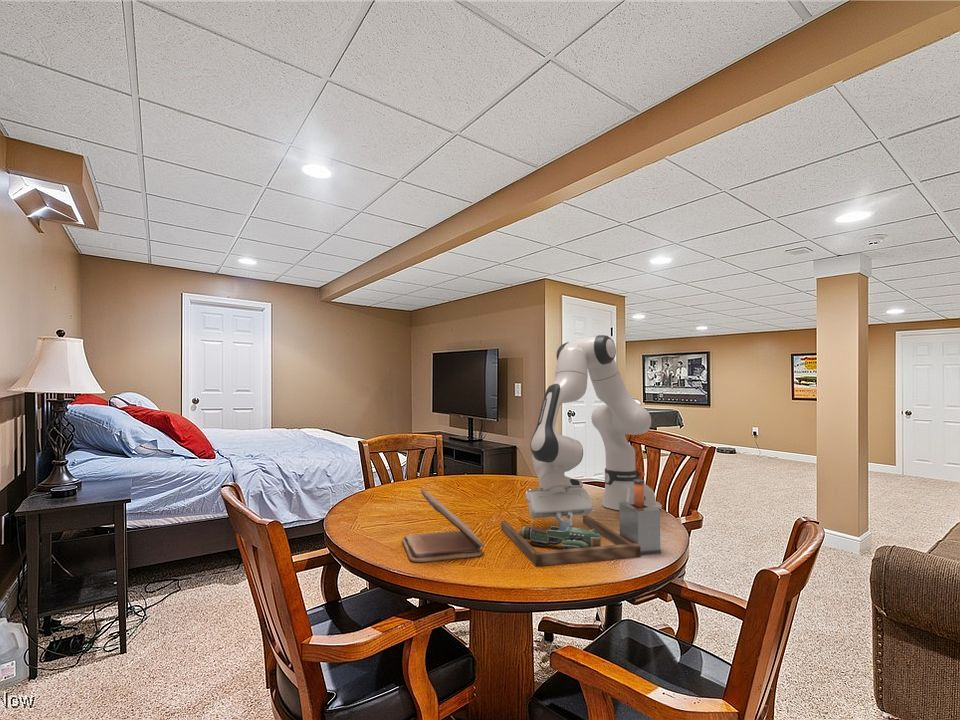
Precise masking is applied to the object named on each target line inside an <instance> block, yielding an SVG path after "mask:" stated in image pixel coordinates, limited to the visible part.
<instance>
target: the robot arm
mask: <svg viewBox="0 0 960 720" xmlns="http://www.w3.org/2000/svg"><path fill="white" fill-rule="evenodd" d="M616 353H617V348H616V344H615V342H614V340H613V339H612V338H611V337H610V336H608V335H606V334H605V335H604V334H603V335H602V334H601V335H600V334H599V335H596V336H588V337H582V338H579V339H575V340H573V341H570V342H569V341H568V342H567V341H566V342H565V343H563V344H561V345H560V346H559V347H558V348H557V351H556V365H555V366H556V367H555V371H554V372H555V373H554V379H553V382H552V384H551V385H549V386H548V387H547V389H546V391H545V392H544V396H543V399H542V403H541V407H540V412H539V415H538V419H537V423H536V426H535V430H534V433H533V435H532V437H531V440H530V445H529V447H530V452H531V459H532V465H533V469H534V472H535V474H536V475H537V478H538V484H539V488H529V489H528V490H527V491H525V494H524V496H525V499H526V501H527V503H528V505H527V506H528V512H529V515H530V517H531V518H532V519H542V518H554V519H555V521H556V522H557V523H559V525H561V523H562V521H564V522H566V523H568V525H569V526H570V527H574V526H573V521H572V519H573V516H584V515H590V514H591V512H592V511H593V509H594V504H593V501H592V499H591V496H590V495H589V493H588V491H587V490H586V489H585V488H584V487H583V486H584V482H583V480H580V479H575V478H571V477H569V476H567V475H565V473H567V472H569V471H571V470H573V469H574V468H576V467H577V466H578V465H580V463H581V462H582V461H583V457H584V449H583V448H584V447H583V445H582V444H581V442H580V441H579V440H577V439H575V438H571V437H570V436H566V435H563V434H560V433H558V432H557V431H556V423H557V418H558V414H559V410H560V407H561V406H562V404H568V403H572V402H577V401H579V400H580V399H582V398H583V396H585V394H586V391H587V388H588V376H589V378H590V381H591V384H592V387H593V390H594V392H595V395H596V397H597V398H598V400H600V401H601V402H603V403H604V404H602V405H598V406H596V407H595V408H594V409H593V410H592V413H591V417H590V418H591V423H592V425H593V426H594V428H595V429H596V430H597V431H598V433H599V434H600V437H601V439H602V441H603V446H604V450H605V451H604V452H605V468H604V483H605V485H604V494H603V498H602V502H601V506H602V507H604V508H607V509H611V510H616V511H619V502H634V482H633V480H634V479H640V477H641V478H644V477H645V476H646V473H645V472H644V471H642V470H637V469H636V449H635V447H633V446H632V444H630V442H628V440H627V438H626V435H629V436H637V435H643V434H647V432H648V431H649V430H650V428H651V427H652V415H651V414H650V412H649V411H648V410H647V409H646V408H644V407H642V406H641V405H640V404H639V403H638V402H637V401H636V400H635V399H634V398H633V396H632V395H631V394H630V392H629V391H628V390H627V388H626V386H625V384H624V381H623V377H622V375H621V372H620V370H619V367H618V364H617V361H616V359H615V358H616ZM656 499H657V498H656V494H655V492H654V489H652V488H651V487H650V486H648V485H647V484H646V482H645V483H644V503H646V504H648V505H650V506H652V507H655V508H657V509H659V510H661V509H662V508H663V505H662V503H660V502H658V501H656ZM562 517H565V518H566V519H567V520H564V519H563V518H562Z"/></svg>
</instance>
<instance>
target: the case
mask: <svg viewBox="0 0 960 720" xmlns="http://www.w3.org/2000/svg"><path fill="white" fill-rule="evenodd" d="M420 492H421V494H422V496H423V497H424V499H425V500H426V501H427V502H428V505H429V506H432V508H433V510H434V511H436V512H437V513H439V514H441V516H443V518H445V519H446V521H448V522H450V524H451V525H453V526H454V527H456V528H457V531H446V532H445V531H444V532H442V531H441V532H431V533H429V532H428V533H418V534H417V533H414V534H407V535H405V536H404V537H402V540H401V542H402V545H403V546H404V548H405V552H406V553H407V557H408V559H409V560H410V561H411V562H413V563H426V562H436V561H437V562H439V561H440V562H441V561H445V560H446V561H447V560H459V559H467V558H476V557H480V556H482V555H483V551H482V550H481V548H484V547H485V543H483V541H482V540H481V539H480V537H478V536H477V535H476V533H474V531H473V530H472V529H471V528H470V527H469V526H468V525H467V524H466V523H465V522H463V521H462V520H461V519H460V518H459V517H458V516H456V514H455V513H453V512H452V511H451V510H449V509H448V508H447V507H446V506H445V505H444V504H442V502H441V501H439V499H437V498H436V497H434V496H433V495H432V494H431V493H429V491H428V490H426V489H424V488H421V489H420Z"/></svg>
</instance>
